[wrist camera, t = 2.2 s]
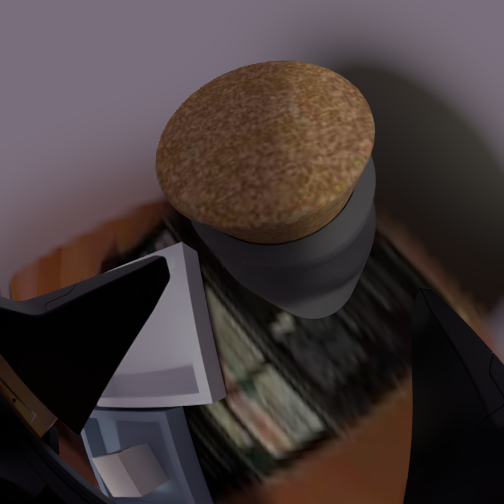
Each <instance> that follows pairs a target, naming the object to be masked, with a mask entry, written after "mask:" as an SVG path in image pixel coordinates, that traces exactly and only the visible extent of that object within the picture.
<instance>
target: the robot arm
mask: <svg viewBox="0 0 504 504" xmlns="http://www.w3.org/2000/svg"><path fill="white" fill-rule="evenodd" d="M169 280H170V272H169V268H168V264H167V260H166V258H165V257H164V256H158V255H154V256H151V257H148V258H146V259H143V260H140V261H137V262H134V263H131V264H128V265H125V266H123V267H120V268H117V269H114V270H111V271H108V272H106V273H103V274H100V275H97V276H95V277H92V278H89V279H86V280H84V281H81V282H79V283H75V284H73V285H70V286H67V287H64V288H62V289H59V290H56V291H53V292H50V293H47V294H44V295H41V296H38V297H35V298H32V299H29V300H25V301H14V300H10V299H7V298H4V297H1V296H0V504H117V503H116V502H114V501H113V500H111V499H110V498H109V497H107V496H106V495H104V494H103V493H102V492H100V491H99V490H98V489H96V488H95V487H94V486H93V485H91V484H90V483H89V482H88V481H86V480H85V479H84V478H83V477H82V476H80V475H79V474H78V473H77V472H76V471H75V470H73V469H72V468H71V467H70V466H69V465H68V464H67V463H66V462H65V461H64V460H63V459H62V458H60V457H59V456H58V455H59V441H58V429H56V428H55V427H54V426H53V423H54V422H55V421H56V420H57V418H58V419H59V420H60V421H61V422H62V423H63V424H65V425H66V426H67V427H68V428H69V429H70V430H71V431H73V432H74V433H75V434H76V435H77V436H79V435H80V433H81V432H82V430H83V428H84V426H85V424H86V422H87V421H88V419H89V417H90V415H91V413H92V412H93V410H94V408H95V406H96V404H97V403H98V401H99V399H100V397H101V396H102V394H103V392H104V390H105V388H106V387H107V385H108V383H109V382H110V380H111V378H112V376H113V375H114V373H115V371H116V370H117V368H118V366H119V365H120V363H121V362H122V360H123V358H124V357H125V355H126V353H127V352H128V350H129V349H130V347H131V345H132V344H133V342H134V341H135V339H136V337H137V336H138V334H139V333H140V331H141V329H142V328H143V326H144V325H145V323H146V322H147V320H148V319H149V317H150V315H151V314H152V312H153V311H154V309H155V307H156V305H157V303H158V301H159V299H160V298H161V296H162V294H163V292H164V290H165V288H166V286H167V284H168V283H169ZM492 353H493V352H492V350H491V349H490V348H489V347H488V346H487V345H486V344H485V343H484V341H483V340H482V339H481V338H480V337H479V336H478V335H477V334H476V333H475V332H474V331H473V329H472V328H471V327H470V326H469V325H468V324H467V323H466V322H465V321H464V320H463V319H462V318H461V317H460V316H459V315H458V314H457V313H456V312H455V311H454V310H453V309H452V308H451V307H450V306H449V305H448V304H447V303H446V302H445V301H444V300H443V299H442V298H441V297H440V296H439V295H438V294H437V293H436V292H435V291H434V290H432V289H430V288H420V289H419V291H418V294H417V297H416V300H415V303H414V306H413V309H412V341H411V364H412V388H413V416H412V439H411V452H410V462H409V471H408V479H407V484H406V490H405V496H404V501H403V504H504V364H503V363H502V362H501V361H500V360H499V359H498V357H497V356H496V355H495V354H494V353H493V354H492Z"/></svg>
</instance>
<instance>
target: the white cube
mask: <svg viewBox="0 0 504 504" xmlns="http://www.w3.org/2000/svg"><path fill="white" fill-rule="evenodd" d="M92 460H93V462H94V464H95V466H96V468H97V470H98V472H99V474H100V475H101V477H102V479H103V481H104V482H105V484H106V486H107V487H108V489H109V491H110V492H111V494H112V496H113V497H143V496H144V495H146V494H148V493H149V492H151V491H153V490H154V489H156V488H157V487H159V486H161V485H162V484H164V483H165V482H167V481H168V480H169V479H168V477H167V476H166V474H165V472H164V471H163V469H162V467H161V466H160V464H159V462H158V461H157V459H156V457H155V455H154V454H153V452H152V450H151V448H150V446H149V444H148V443H145V444H141V445H136V446H132V447H128V448H123V449H119V450H116V451H113V452H110V453H107V454H104V455H101V456H98V457H95V458H92Z"/></svg>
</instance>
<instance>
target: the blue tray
mask: <svg viewBox="0 0 504 504" xmlns="http://www.w3.org/2000/svg"><path fill="white" fill-rule="evenodd" d="M81 435H82V438H83V442H84V445H85V448H86V451H87V454H88V457H89V460H90V463H91V465H92V468H93V471H94V473H95V476H96V478H97V481H98V483H99V486H100V488H101V490H102V493H103V494H104V495H106V496H107V497H109V498H110V499H111V500H113V501H114V502H116V503H117V504H214V503H213V500H212V498H211V495H210V492H209V490H208V487H207V484H206V482H205V479H204V476H203V473H202V470H201V467H200V464H199V461H198V458H197V455H196V452H195V448H194V445H193V442H192V439H191V435H190V432H189V428H188V425H187V421H186V417H185V413H184V410H183V406H172V407H102V406H95V408H94V410H93V412H92V413H91V415H90V417H89V419H88V421H87V422H86V424H85V426H84V428H83V430H82V432H81ZM145 443H148V444H149V446H150V448H151V450H152V452H153V454H154V455H155V457H156V459H157V461H158V462H159V464H160V466H161V467H162V469H163V471H164V472H165V474H166V476H167V477H168V479H169V480H168V481H167V482H165V483H164V484H162V485H161V486H159V487H157V488H156V489H154V490H153V491H151V492H149V493H148V494H146V495H144V496H143V497H113V496H112V494H111V492H110V491H109V489H108V487H107V486H106V484H105V482H104V481H103V479H102V477H101V475H100V474H99V472H98V470H97V468H96V466H95V464H94V462H93V460H92V458H95V457H98V456H101V455H104V454H107V453H110V452H113V451H116V450H119V449H123V448H128V447H132V446H136V445H141V444H145Z"/></svg>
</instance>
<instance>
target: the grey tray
mask: <svg viewBox="0 0 504 504" xmlns="http://www.w3.org/2000/svg"><path fill="white" fill-rule="evenodd" d="M154 255H158V256H164V257H165V258H166V260H167V264H168V268H169V272H170V280H169V283H168V284H167V286H166V288H165V290H164V292H163V294H162V296H161V298H160V299H159V301H158V303H157V305H156V307H155V309H154V311H153V312H152V314H151V315H150V317H149V319H148V320H147V322H146V323H145V325H144V326H143V328H142V329H141V331H140V333H139V334H138V336H137V337H136V339H135V341H134V342H133V344H132V345H131V347H130V349H129V350H128V352H127V353H126V355H125V357H124V358H123V360H122V362H121V363H120V365H119V366H118V368H117V370H116V371H115V373H114V375H113V376H112V378H111V380H110V382H109V383H108V385H107V387H106V388H105V390H104V392H103V394H102V396H101V397H100V399H99V401H98V403H97V405H98V406H102V407H172V406H187V405H199V404H209V403H214V402H216V401H218V400H220V399H222V398H224V397H226V396H227V394H226V390H225V386H224V382H223V378H222V374H221V369H220V365H219V361H218V356H217V352H216V347H215V343H214V338H213V333H212V329H211V324H210V319H209V314H208V309H207V304H206V299H205V293H204V288H203V283H202V277H201V271H200V266H199V260H198V254H197V251H195V250H194V249H192V248H190V247H189V246H187V245H186V244H184V243H183V242H180V243H178V244H175V245H172V246H170V247H167V248H165V249H162V250H160V251H157V252H154V253H152V254H149V255H147V256H144V257H142V258H139V259H137V260H134V261H132V262H130V263H127V264H125V265H128V264H131V263H134V262H137V261H140V260H143V259H146V258H148V257H151V256H154ZM125 265H122V266H120V267H123V266H125ZM120 267H117V268H120ZM117 268H115V269H117ZM112 270H114V269H112ZM110 271H111V270H110ZM105 273H106V272H105Z"/></svg>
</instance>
